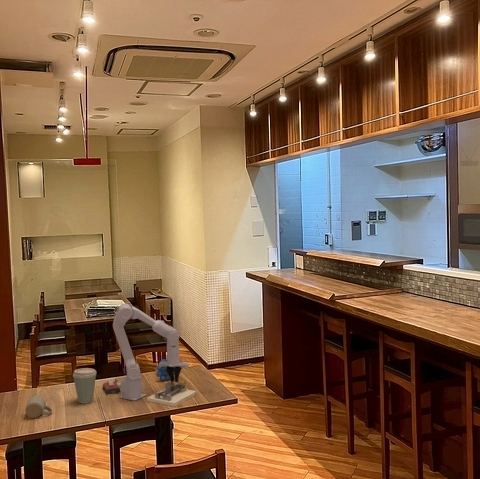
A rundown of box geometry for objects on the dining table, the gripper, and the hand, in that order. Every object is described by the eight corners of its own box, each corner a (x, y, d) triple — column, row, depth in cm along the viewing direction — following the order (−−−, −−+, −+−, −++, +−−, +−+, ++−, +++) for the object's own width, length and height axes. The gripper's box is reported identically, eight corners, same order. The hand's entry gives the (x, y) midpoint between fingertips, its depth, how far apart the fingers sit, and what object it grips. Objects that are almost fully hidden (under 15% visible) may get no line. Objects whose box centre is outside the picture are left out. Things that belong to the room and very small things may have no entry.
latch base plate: (147, 401, 237) (146, 391, 236) (170, 389, 251) (169, 380, 251) (174, 406, 228) (174, 397, 228) (196, 394, 243) (196, 385, 243)
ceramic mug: (25, 420, 219) (24, 402, 219) (27, 413, 227) (27, 396, 226) (51, 417, 222) (50, 399, 221) (53, 410, 230) (52, 393, 229)
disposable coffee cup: (88, 395, 246) (86, 365, 246) (103, 399, 240) (101, 368, 239) (69, 402, 238) (67, 371, 237) (84, 407, 232) (82, 374, 231)
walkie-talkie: (124, 393, 249) (117, 381, 267) (124, 384, 249) (117, 373, 267) (106, 396, 246) (100, 384, 264) (105, 387, 245) (100, 376, 264)
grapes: (175, 376, 272) (174, 353, 272) (179, 379, 266) (178, 356, 265) (154, 379, 267) (153, 356, 267) (157, 383, 261) (156, 360, 261)
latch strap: (165, 397, 232) (165, 394, 232) (158, 396, 234) (158, 393, 234) (185, 387, 245) (184, 384, 245) (178, 386, 247) (178, 383, 247)
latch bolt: (175, 384, 244) (174, 382, 244) (178, 382, 247) (178, 380, 247) (181, 385, 242) (181, 383, 242) (185, 383, 245) (185, 381, 245)
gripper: (155, 355, 244) (157, 383, 245) (184, 356, 240) (185, 385, 241) (162, 351, 251) (163, 379, 252) (189, 352, 247) (190, 380, 248)
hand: (174, 381), depth 247 cm, fingers closed
